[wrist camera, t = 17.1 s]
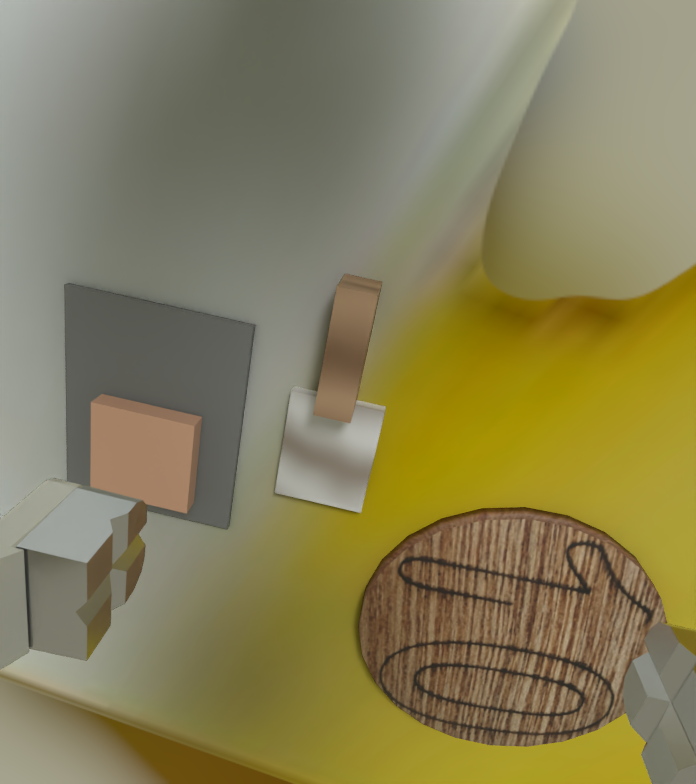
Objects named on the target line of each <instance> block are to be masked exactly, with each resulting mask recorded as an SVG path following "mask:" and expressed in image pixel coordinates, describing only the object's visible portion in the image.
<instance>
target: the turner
mask: <svg viewBox="0 0 696 784" xmlns="http://www.w3.org/2000/svg"><path fill="white" fill-rule="evenodd" d="M381 286H382V282H381V281H376V280H371V279H367V278H362V277H358V276H353V275H348V274H345V275H344V276H343V278H342V279H341V281H340V282H339V284H338V285H337V288H336V294H335V299H334V304H333V310H332V315H331V321H330V326H329V332H328V337H327V342H326V348H325V353H324V359H323V364H322V370H321V375H320V381H319V386H318V391H314V390H310V389H305V388H301V387H296V386H294V387H293V389H292V390H291V395H290V401H289V407H288V413H287V420H286V426H285V432H284V438H283V444H282V450H281V456H280V463H279V469H278V475H277V481H276V487H275V493H278V494H282V495H286V496H290V497H295V498H299V499H303V500H308V501H312V502H316V503H320V504H325V505H329V506H333V507H338V508H342V509H346V510H350V511H355V512H359V513H361V510H362V505H363V501H364V497H365V493H366V489H367V485H368V481H369V476H370V472H371V468H372V464H373V460H374V456H375V452H376V447H377V443H378V439H379V435H380V431H381V427H382V422H383V418H384V414H385V409H386V407H385V406H381V405H376V404H372V403H367V402H363V401H359V400H357V397H358V392H359V388H360V383H361V378H362V374H363V369H364V365H365V360H366V355H367V351H368V346H369V342H370V337H371V332H372V328H373V323H374V318H375V314H376V309H377V305H378V300H379V295H380V291H381Z"/></svg>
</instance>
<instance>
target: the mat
mask: <svg viewBox="0 0 696 784" xmlns="http://www.w3.org/2000/svg"><path fill="white" fill-rule="evenodd" d="M64 289H65V361H66V432H67V481H68V482H72V483H76V484H80V485H82V486H84V485H86V486H89V487H90V464H91V402H92V401H93V400H94V399H96V398H97V397H98V396H100V395H101V394H105V395H109V396H114V397H118V398H122V399H127V400H131V401H135V402H140V403H144V404H149V405H153V406H157V407H162V408H166V409H170V410H175V411H179V412H183V413H188V414H192V415H196V416H201V417H202V425H201V435H200V446H199V456H198V466H197V477H196V487H195V498H194V503H193V505H192V506H191V508H190V509H189V511H188V512H187V514H186V513H182V512H178V511H173V510H169V509H165V508H161V507H157V506H152V505H148V504H146V505H147V510H148V511H152V512H156V513H160V514H164V515H169V516H173V517H177V518H181V519H186V520H190V521H194V522H198V523H203V524H207V525H211V526H215V527H219V528H224V529H228V527H229V524H230V516H231V508H232V501H233V493H234V485H235V477H236V470H237V462H238V454H239V446H240V439H241V431H242V423H243V416H244V408H245V400H246V392H247V385H248V377H249V369H250V361H251V354H252V346H253V338H254V331H255V325H253V324H249V323H244V322H240V321H235V320H231V319H226V318H222V317H217V316H213V315H209V314H204V313H200V312H195V311H191V310H186V309H182V308H177V307H173V306H168V305H164V304H159V303H155V302H150V301H146V300H141V299H137V298H132V297H128V296H123V295H119V294H114V293H110V292H105V291H101V290H97V289H92V288H88V287H83V286H79V285H74V284H70V283H68V284H65V285H64Z"/></svg>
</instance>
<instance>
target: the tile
mask: <svg viewBox="0 0 696 784" xmlns="http://www.w3.org/2000/svg"><path fill="white" fill-rule="evenodd" d="M201 425H202V417H201V416H196V415H192V414H188V413H183V412H179V411H175V410H170V409H166V408H162V407H157V406H153V405H149V404H144V403H140V402H135V401H131V400H127V399H122V398H118V397H114V396H109V395H105V394H101V395H100V396H98V397H97V398H96V399H94V400H93V401H92V402H91V464H90V487H93V488H97V489H101V490H105V491H109V492H113V493H117V494H120V495H124V496H128V497H132V498H136V499H140V500H143V501H144V502H145V504H148V505H152V506H157V507H161V508H165V509H169V510H173V511H178V512H182V513H186V514H187V512H188V511H189V509H190V508H191V506H192V505H193V503H194V498H195V487H196V477H197V466H198V456H199V446H200V435H201Z"/></svg>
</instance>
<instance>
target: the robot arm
mask: <svg viewBox="0 0 696 784" xmlns="http://www.w3.org/2000/svg"><path fill="white" fill-rule="evenodd" d="M146 521H147V505H146V504H145V502H144V501H143V500H140V499H136V498H132V497H128V496H124V495H120V494H117V493H113V492H109V491H105V490H101V489H97V488H93V487H89V486H86V485H84V486H82V485H80V484H76V483H72V482H68V481H64V480H60V479H56V478H53V479H49V480H46V481H44V482H43V483H42V484H41V485H39V486H38V487H37V488H36V489H35V490H34V491H32V492H31V493H30V494H29V495H28V496H27V497H25V498H24V499H23V500H22V501H21V502H20V503H18V504H17V505H16V506H15V507H14V508H13V509H11V510H10V511H9V512H8V513H7V514H6V515H4V516H3V517H2V518H1V519H0V670H1V669H2V668H4V667H6V666H7V665H9V664H11V663H12V662H14V661H15V660H17V659H19V658H20V657H22V656H24V655H25V654H27V653H28V652H29V649H33V650H38V651H43V652H48V653H52V654H57V655H62V656H66V657H71V658H76V659H80V660H85V661H87V660H88V658H89V657H90V655H91V654H92V652H93V651H94V649H95V648H96V646H97V645H98V643H99V642H100V640H101V639H102V637H103V636H104V634H105V633H106V631H107V630H108V628H109V627H110V623H111V610H113V609H115V608H117V607H119V606H121V605H123V604H125V603H126V601H127V599H128V598H129V596H130V595H131V593H132V592H133V590H134V588H135V585H136V583H137V581H138V578H139V576H140V573H141V570H142V566H143V561H144V556H145V544H144V542H143V541H142V539H141V537H140V536H139V534H138V533H139V532H140V531H141V529H142V528H143V526H144V525H145V524H146ZM644 641H645V644H646V647H647V650H648V653H646V654H644V655H642V656H640V657H638V658H636V659H634V660H633V661H632V663H631V665H630V667H629V669H628V671H627V673H626V675H625V680H624V689H623V698H624V705H625V711H626V714H627V716H628V719H629V722H630V725H631V726H632V727H633V729H634V730H635V731H636V732H637V733H638V734H639V735H640V736H641V737H642V738H643V739H644V740H645V741H646V744H645V747H644V749H643V751H642V754H641V755H642V758H643V761H644V763H645V766H646V769H647V771H648V774H649V777H650V779H651V782H652V784H696V630H694V629H689V628H685V627H681V626H676V625H672V624H667V623H663V622H658V623H657V624H655V625H654V626H652V627H651V628H650V630H649V632H648V634H647V635H646V637H645V639H644Z"/></svg>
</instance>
